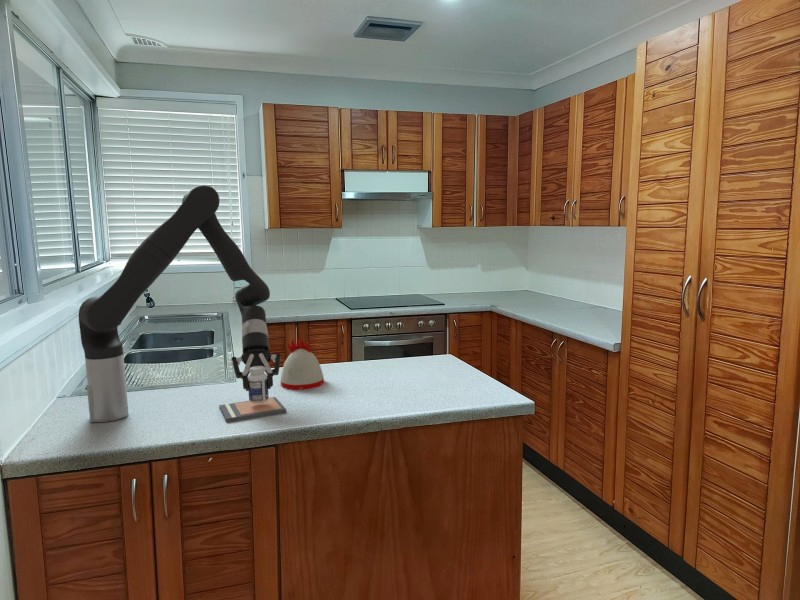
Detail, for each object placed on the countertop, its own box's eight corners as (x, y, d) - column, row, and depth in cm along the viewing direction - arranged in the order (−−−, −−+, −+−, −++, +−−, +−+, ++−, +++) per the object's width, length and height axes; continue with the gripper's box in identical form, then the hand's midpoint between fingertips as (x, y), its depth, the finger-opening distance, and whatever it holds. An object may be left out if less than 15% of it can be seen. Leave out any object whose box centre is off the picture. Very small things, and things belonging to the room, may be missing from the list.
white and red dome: (286, 378, 190) (284, 335, 188) (326, 378, 189) (325, 334, 187) (276, 390, 176) (273, 343, 174) (319, 389, 176) (317, 343, 174)
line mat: (226, 422, 147) (226, 418, 147) (219, 408, 159) (219, 404, 158) (286, 412, 154) (286, 408, 154) (275, 400, 165) (275, 396, 165)
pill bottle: (260, 397, 161) (259, 364, 159) (272, 400, 157) (270, 366, 156) (245, 401, 157) (243, 368, 155) (256, 405, 153) (254, 371, 152)
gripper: (229, 332, 160) (230, 384, 150) (280, 329, 163) (284, 379, 154) (230, 347, 165) (232, 397, 156) (279, 343, 169) (284, 392, 159)
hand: (258, 388), depth 155 cm, fingers closed on pill bottle, 5 cm apart
